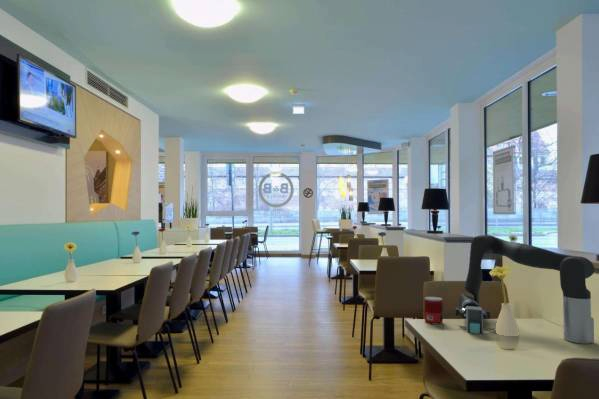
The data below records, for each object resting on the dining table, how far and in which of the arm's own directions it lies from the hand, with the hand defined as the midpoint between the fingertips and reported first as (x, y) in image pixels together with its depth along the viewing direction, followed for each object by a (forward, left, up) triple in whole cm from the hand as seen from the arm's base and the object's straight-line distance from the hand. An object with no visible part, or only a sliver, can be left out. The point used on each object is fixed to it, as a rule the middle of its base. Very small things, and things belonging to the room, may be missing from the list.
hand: (473, 316), depth 178 cm
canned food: (+13, -13, -6) cm, 20 cm away
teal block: (+1, +3, -6) cm, 7 cm away
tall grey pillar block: (+1, +3, -6) cm, 7 cm away
